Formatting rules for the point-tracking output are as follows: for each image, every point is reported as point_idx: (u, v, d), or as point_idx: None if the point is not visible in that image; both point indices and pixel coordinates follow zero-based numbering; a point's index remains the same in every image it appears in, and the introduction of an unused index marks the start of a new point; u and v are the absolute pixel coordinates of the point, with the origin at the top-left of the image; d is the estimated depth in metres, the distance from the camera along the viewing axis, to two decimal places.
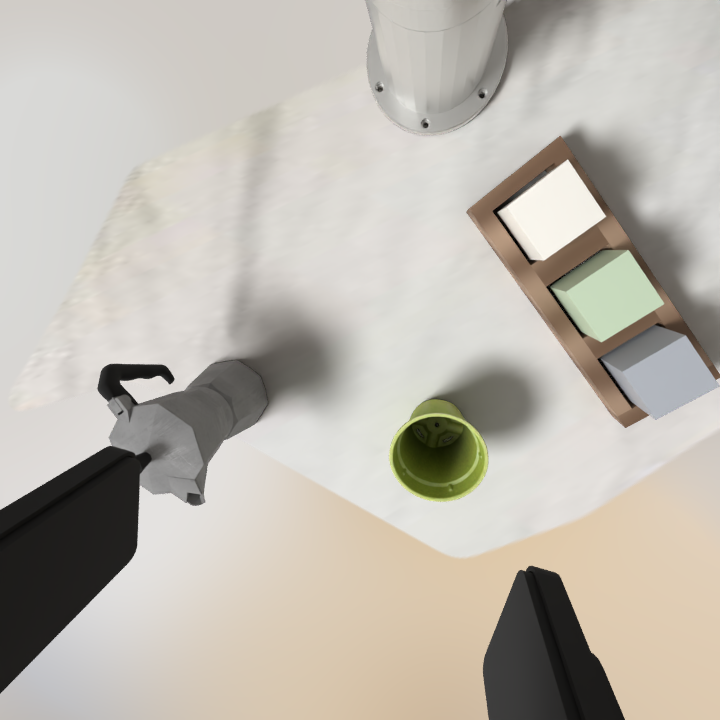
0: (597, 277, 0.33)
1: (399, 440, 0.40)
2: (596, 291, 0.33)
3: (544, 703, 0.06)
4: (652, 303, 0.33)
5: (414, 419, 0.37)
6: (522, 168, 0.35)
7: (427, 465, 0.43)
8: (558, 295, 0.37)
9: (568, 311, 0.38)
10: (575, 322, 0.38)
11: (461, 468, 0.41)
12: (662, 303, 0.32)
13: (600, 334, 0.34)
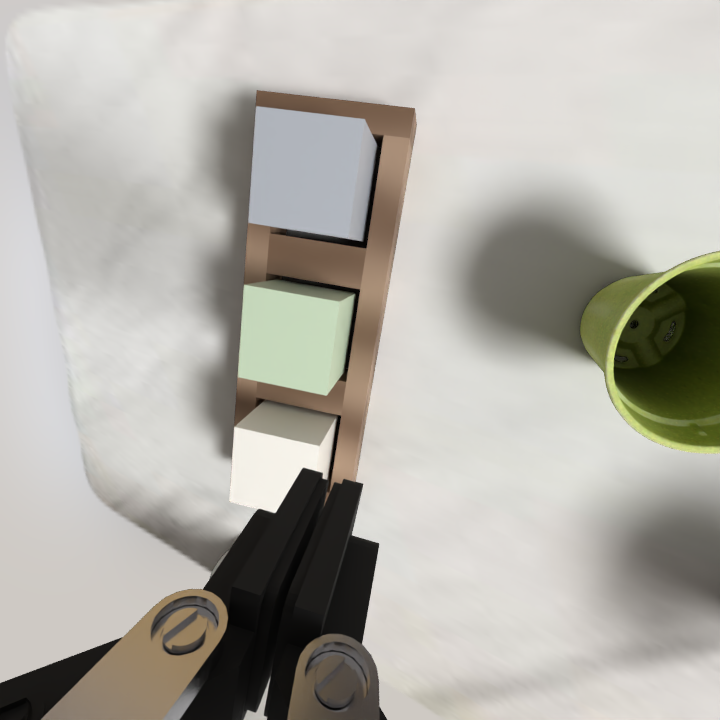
0: (285, 379, 0.23)
1: None
2: (297, 366, 0.23)
3: None
4: (254, 296, 0.22)
5: (670, 446, 0.19)
6: None
7: None
8: (342, 364, 0.26)
9: (347, 333, 0.26)
10: (351, 312, 0.26)
11: (700, 270, 0.19)
12: (245, 287, 0.22)
13: (332, 312, 0.21)
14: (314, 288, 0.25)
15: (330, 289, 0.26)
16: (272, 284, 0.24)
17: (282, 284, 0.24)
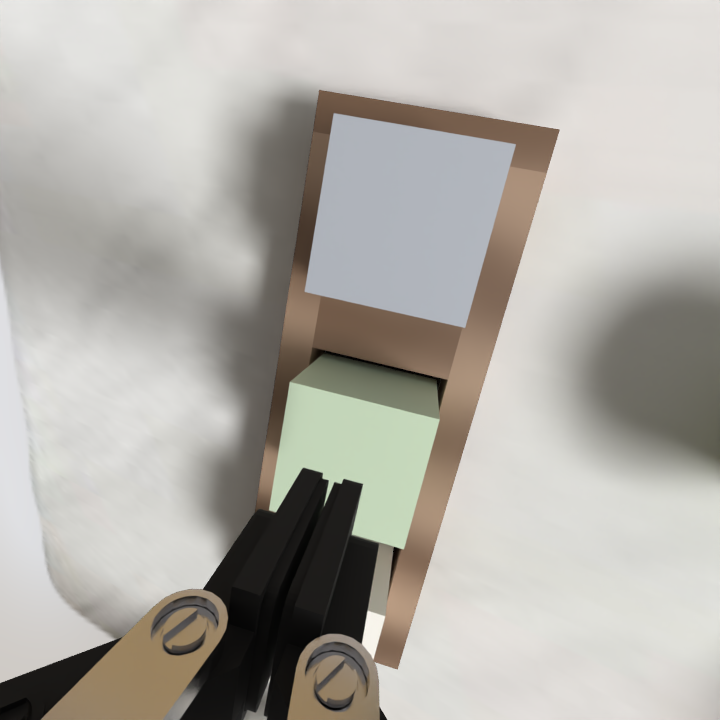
0: None
1: None
2: (363, 504, 0.15)
3: None
4: (305, 400, 0.14)
5: None
6: None
7: None
8: None
9: None
10: None
11: None
12: (292, 385, 0.14)
13: (426, 434, 0.14)
14: (382, 375, 0.17)
15: (401, 374, 0.18)
16: (326, 372, 0.16)
17: (338, 369, 0.17)
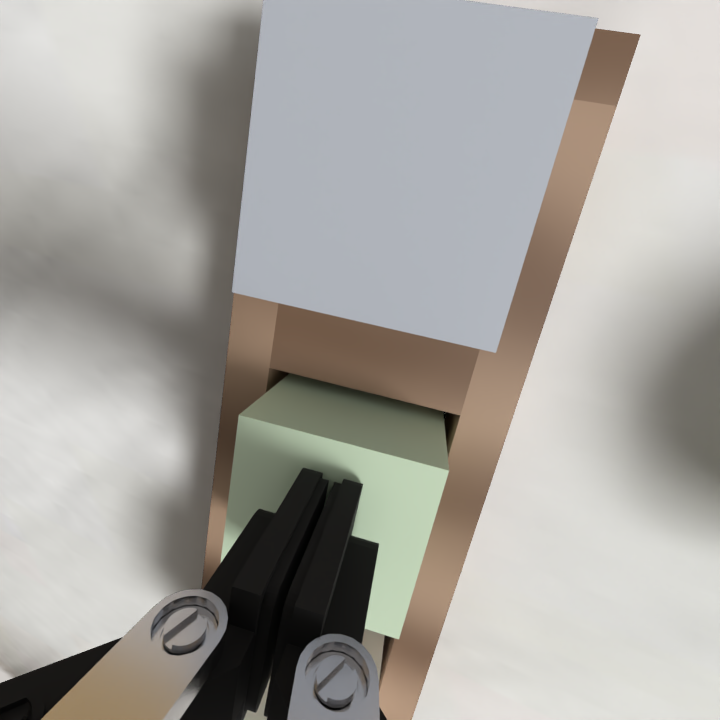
0: None
1: None
2: None
3: None
4: (260, 440, 0.10)
5: None
6: None
7: None
8: None
9: None
10: None
11: None
12: (242, 420, 0.10)
13: (430, 490, 0.10)
14: (371, 396, 0.13)
15: None
16: (295, 396, 0.12)
17: (313, 390, 0.13)
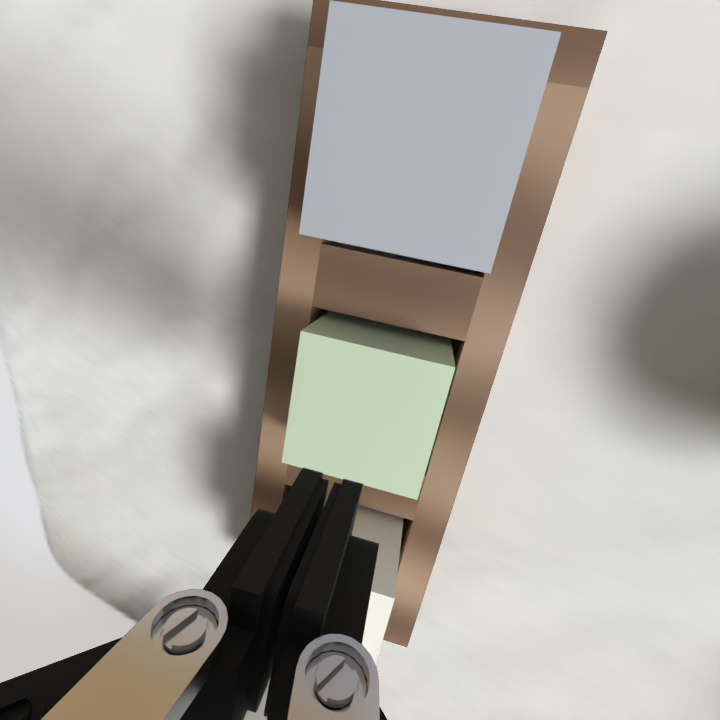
0: (355, 471, 0.15)
1: None
2: (376, 455, 0.15)
3: None
4: (316, 349, 0.14)
5: None
6: None
7: None
8: None
9: None
10: None
11: None
12: (303, 335, 0.14)
13: (441, 383, 0.13)
14: (394, 328, 0.17)
15: None
16: (337, 324, 0.16)
17: (349, 322, 0.16)
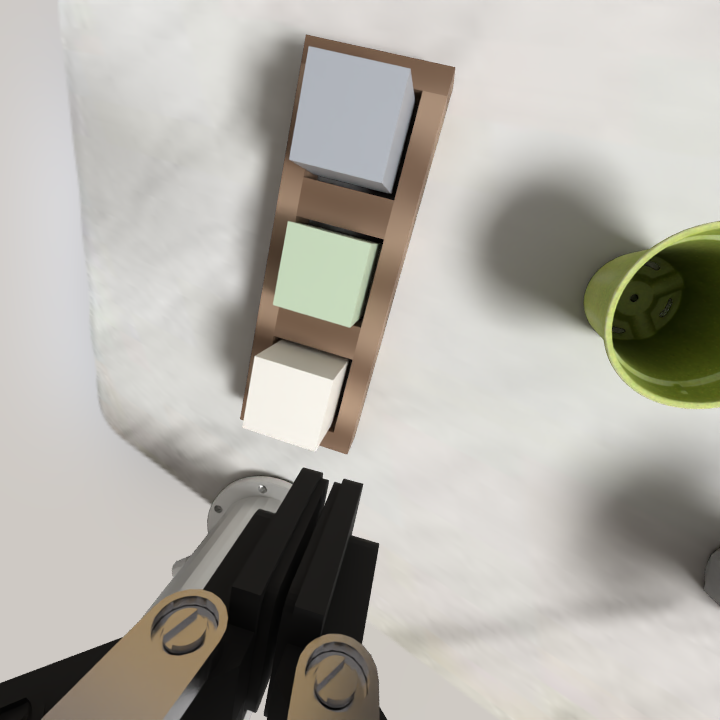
0: (315, 310, 0.26)
1: (710, 379, 0.22)
2: (327, 299, 0.26)
3: None
4: (296, 232, 0.25)
5: (654, 399, 0.21)
6: None
7: None
8: (363, 306, 0.29)
9: (370, 279, 0.29)
10: (376, 260, 0.29)
11: (700, 243, 0.21)
12: (289, 223, 0.25)
13: (364, 253, 0.24)
14: (346, 234, 0.28)
15: (359, 238, 0.29)
16: (310, 226, 0.27)
17: (318, 227, 0.27)
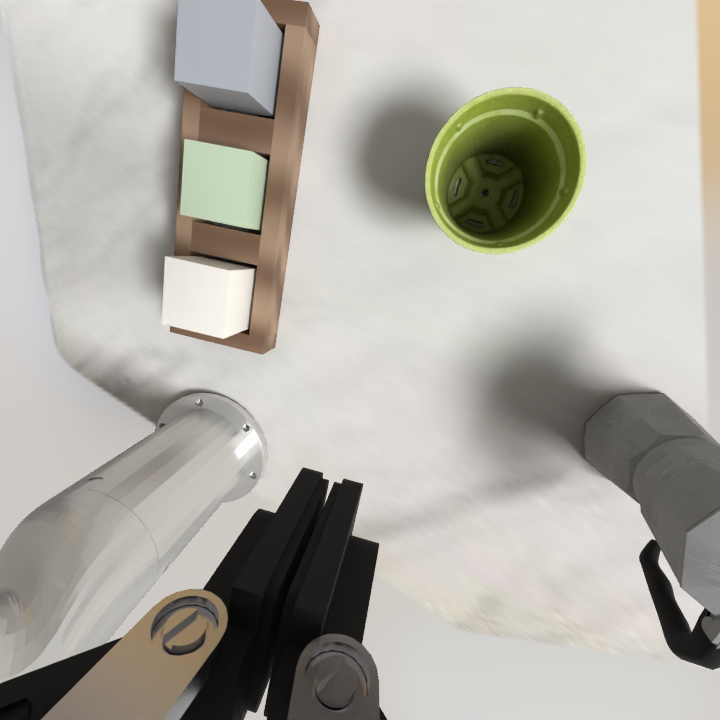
0: (214, 215, 0.31)
1: (522, 234, 0.26)
2: (223, 204, 0.31)
3: None
4: (192, 147, 0.30)
5: (472, 248, 0.25)
6: (207, 339, 0.36)
7: (539, 162, 0.27)
8: None
9: None
10: None
11: (504, 123, 0.26)
12: (185, 140, 0.30)
13: (247, 160, 0.29)
14: None
15: None
16: None
17: None
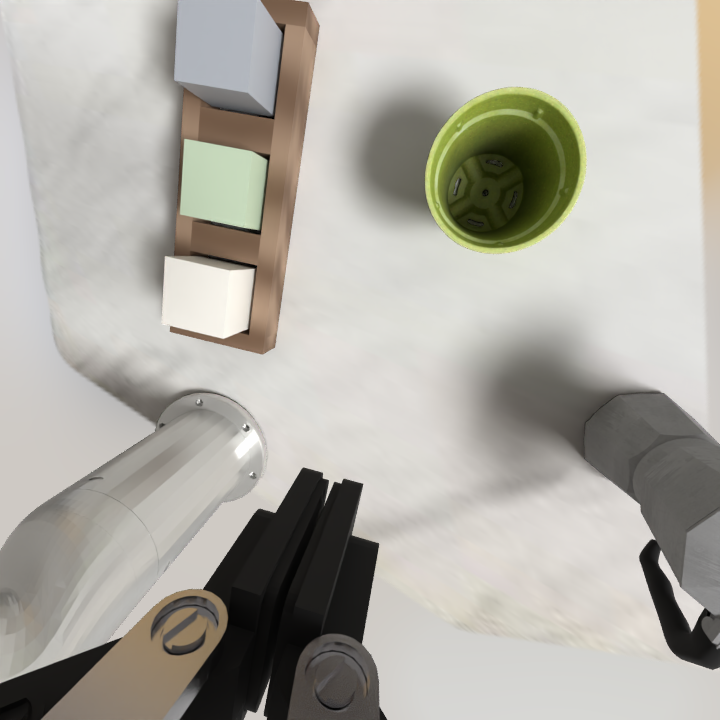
0: (214, 215, 0.31)
1: (522, 234, 0.26)
2: (223, 204, 0.31)
3: None
4: (192, 147, 0.30)
5: (472, 248, 0.25)
6: (207, 339, 0.36)
7: (539, 162, 0.27)
8: None
9: None
10: None
11: (504, 123, 0.26)
12: (185, 140, 0.30)
13: (247, 160, 0.29)
14: None
15: None
16: None
17: None
